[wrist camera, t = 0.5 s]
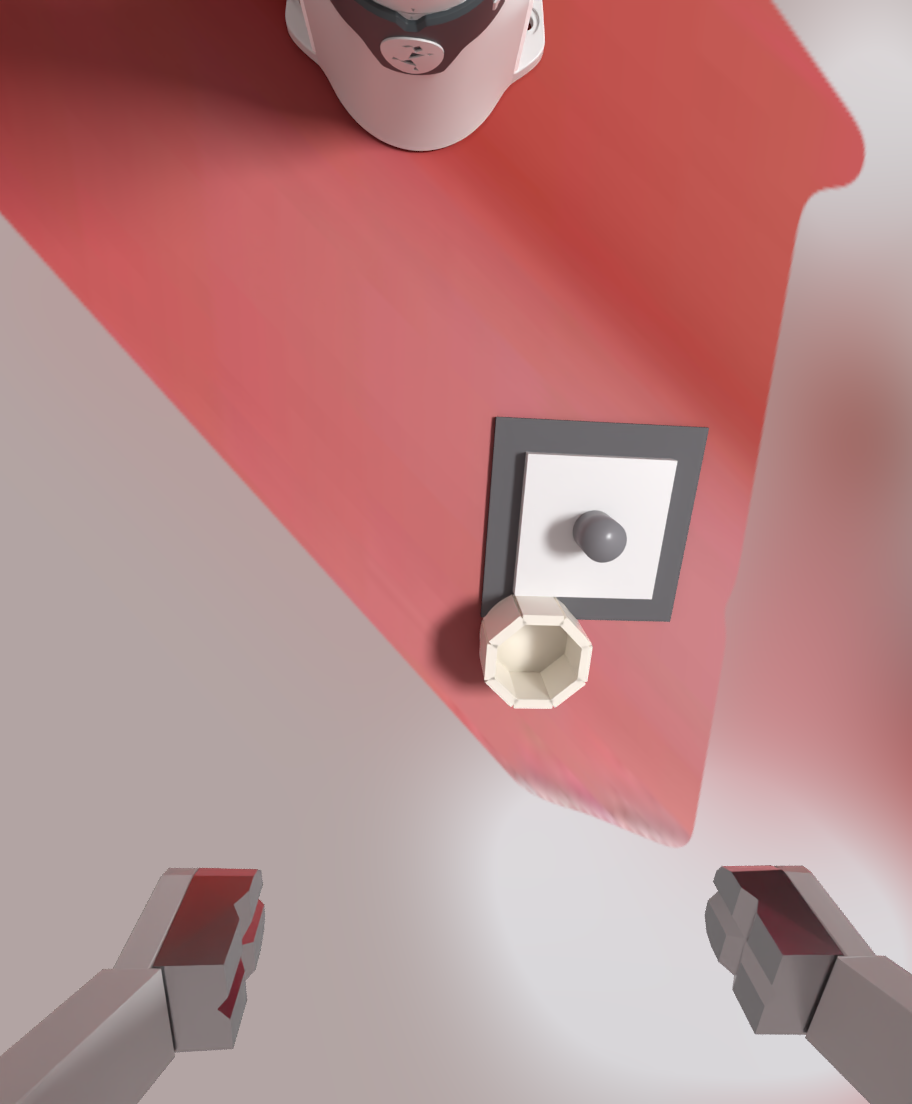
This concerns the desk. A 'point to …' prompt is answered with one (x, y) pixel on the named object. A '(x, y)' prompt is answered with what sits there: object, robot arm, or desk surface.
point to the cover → (591, 525)
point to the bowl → (533, 651)
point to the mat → (590, 440)
